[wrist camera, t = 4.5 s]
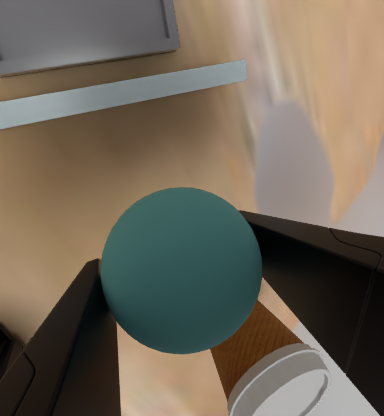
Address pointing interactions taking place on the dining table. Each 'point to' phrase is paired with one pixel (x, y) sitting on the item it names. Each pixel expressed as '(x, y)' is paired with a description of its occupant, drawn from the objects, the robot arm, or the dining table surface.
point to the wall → (117, 93)
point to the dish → (82, 32)
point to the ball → (181, 270)
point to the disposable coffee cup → (269, 369)
